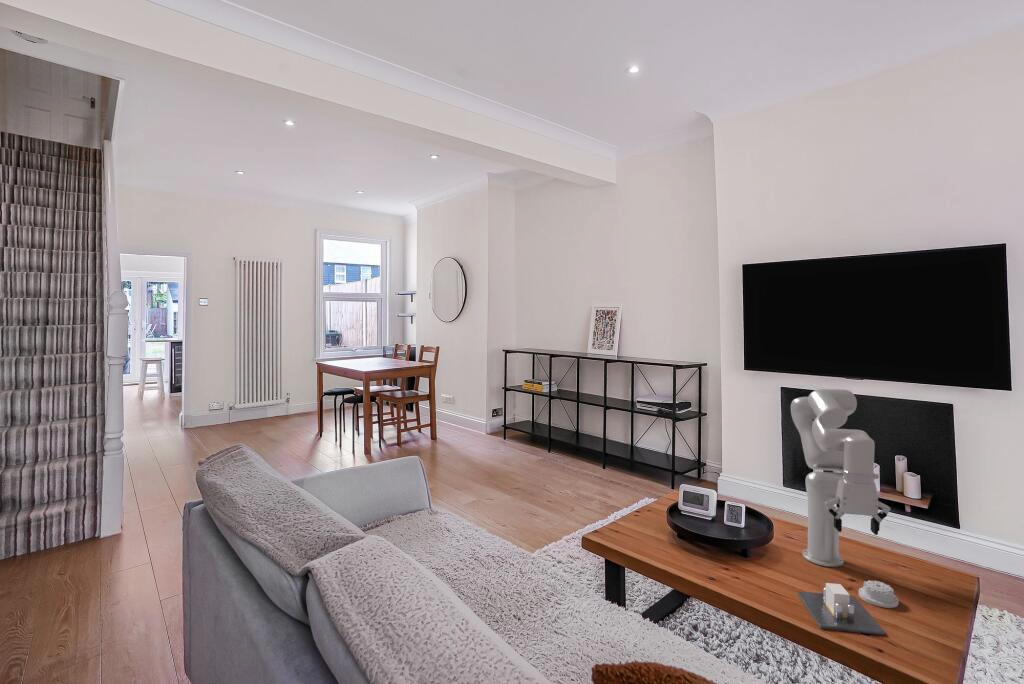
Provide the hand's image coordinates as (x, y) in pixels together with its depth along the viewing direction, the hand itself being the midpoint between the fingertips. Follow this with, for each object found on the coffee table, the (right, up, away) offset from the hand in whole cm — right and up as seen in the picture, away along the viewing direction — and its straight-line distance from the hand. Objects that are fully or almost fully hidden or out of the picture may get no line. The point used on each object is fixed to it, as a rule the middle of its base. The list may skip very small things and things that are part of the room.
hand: (856, 531), depth 153 cm
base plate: (-9, -22, -5) cm, 24 cm away
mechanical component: (+8, -22, +2) cm, 24 cm away
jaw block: (-9, -21, -5) cm, 23 cm away
